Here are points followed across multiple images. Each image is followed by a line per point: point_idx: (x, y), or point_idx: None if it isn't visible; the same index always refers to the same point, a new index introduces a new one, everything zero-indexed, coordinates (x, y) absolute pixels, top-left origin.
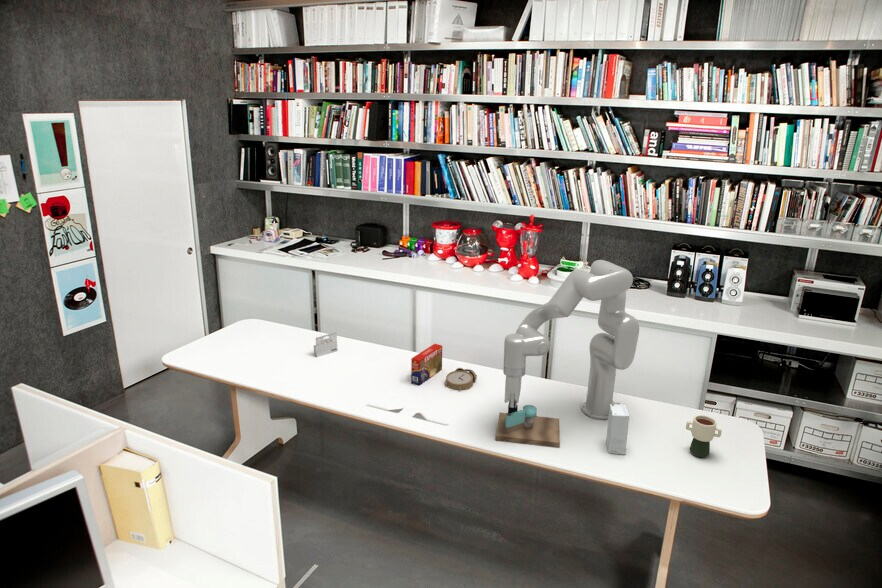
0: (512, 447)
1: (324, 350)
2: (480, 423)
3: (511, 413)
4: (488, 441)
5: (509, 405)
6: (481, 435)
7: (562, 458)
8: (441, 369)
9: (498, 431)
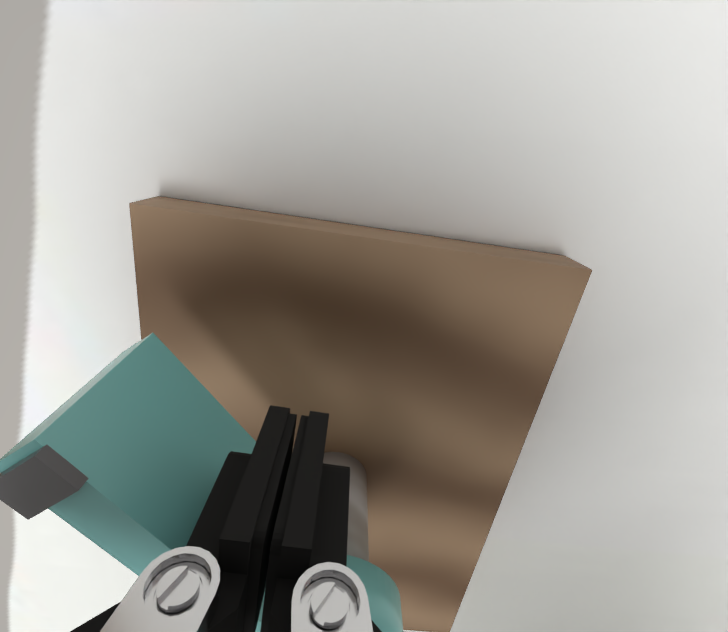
0: (95, 330)
1: None
2: (463, 40)
3: (118, 514)
4: (125, 120)
5: (123, 614)
6: (220, 41)
7: (76, 576)
8: None
9: (217, 235)
